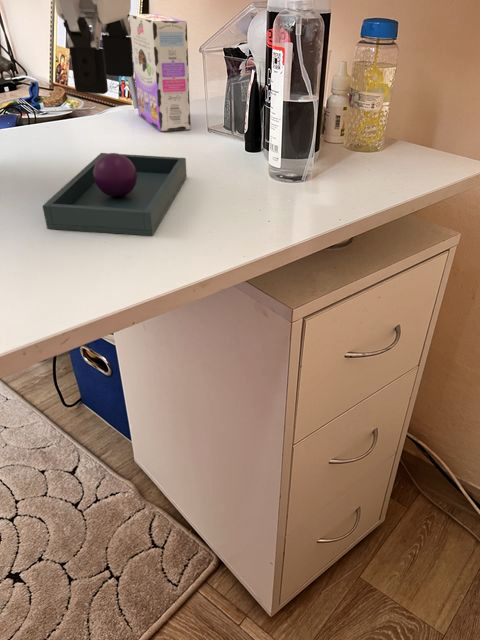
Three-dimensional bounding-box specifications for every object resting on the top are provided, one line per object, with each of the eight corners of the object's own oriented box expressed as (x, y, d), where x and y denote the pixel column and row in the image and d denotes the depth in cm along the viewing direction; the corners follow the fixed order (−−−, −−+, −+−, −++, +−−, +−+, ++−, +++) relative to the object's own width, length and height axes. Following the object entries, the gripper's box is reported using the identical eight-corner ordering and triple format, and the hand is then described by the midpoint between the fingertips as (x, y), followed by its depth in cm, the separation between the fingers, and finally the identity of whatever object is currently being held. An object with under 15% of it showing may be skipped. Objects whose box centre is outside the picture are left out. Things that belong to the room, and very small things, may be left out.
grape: (102, 209, 64) (79, 171, 61) (112, 189, 67) (92, 153, 64) (139, 198, 62) (118, 158, 59) (148, 178, 66) (128, 140, 63)
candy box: (192, 130, 93) (188, 20, 84) (160, 132, 91) (152, 20, 81) (166, 112, 103) (160, 12, 93) (136, 114, 101) (127, 12, 91)
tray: (47, 228, 58) (42, 205, 56) (103, 172, 74) (100, 152, 72) (152, 235, 57) (150, 212, 56) (186, 177, 73) (185, 157, 72)
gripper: (78, -118, 55) (98, 67, 65) (-1, -145, 41) (40, 97, 51) (150, -113, 55) (159, 73, 65) (95, -138, 41) (117, 103, 51)
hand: (106, 83), depth 58 cm, fingers open, 9 cm apart
